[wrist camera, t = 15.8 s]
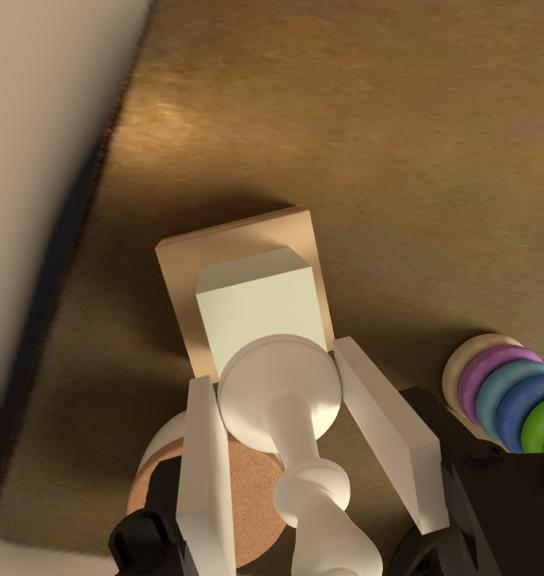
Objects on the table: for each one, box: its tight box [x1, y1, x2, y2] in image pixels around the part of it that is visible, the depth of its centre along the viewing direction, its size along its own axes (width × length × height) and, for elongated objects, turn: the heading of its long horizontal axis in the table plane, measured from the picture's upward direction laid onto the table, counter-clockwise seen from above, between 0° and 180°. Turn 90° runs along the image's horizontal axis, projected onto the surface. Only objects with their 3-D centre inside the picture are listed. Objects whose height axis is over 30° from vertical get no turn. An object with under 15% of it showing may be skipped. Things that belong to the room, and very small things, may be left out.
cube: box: [196, 247, 328, 380], centre depth 24 cm, size 6×6×6 cm
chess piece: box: [217, 334, 383, 576], centre depth 12 cm, size 5×5×10 cm
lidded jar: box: [127, 410, 286, 569], centre depth 29 cm, size 11×11×9 cm
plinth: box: [155, 206, 335, 384], centre depth 29 cm, size 10×10×4 cm
